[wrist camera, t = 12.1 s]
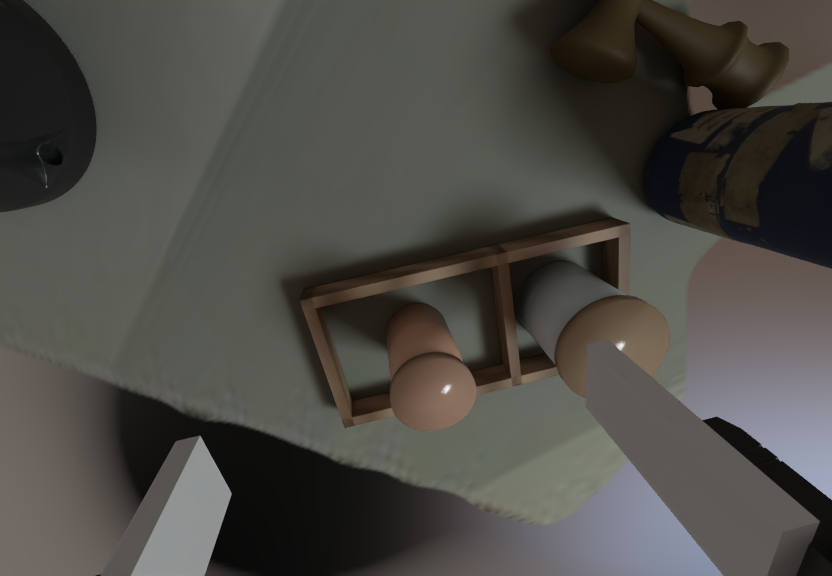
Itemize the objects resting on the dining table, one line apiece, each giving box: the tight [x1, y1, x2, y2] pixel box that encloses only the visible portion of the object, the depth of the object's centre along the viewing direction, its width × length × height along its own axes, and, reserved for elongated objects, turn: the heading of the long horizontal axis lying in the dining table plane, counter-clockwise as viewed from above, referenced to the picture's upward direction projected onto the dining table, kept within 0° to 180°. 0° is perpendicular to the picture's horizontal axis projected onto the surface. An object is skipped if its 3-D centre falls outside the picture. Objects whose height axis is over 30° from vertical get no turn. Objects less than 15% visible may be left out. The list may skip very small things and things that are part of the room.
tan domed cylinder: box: [386, 304, 476, 431], centre depth 33 cm, size 6×6×10 cm
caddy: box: [300, 218, 630, 428], centre depth 37 cm, size 29×14×2 cm, turn 101°
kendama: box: [551, 0, 789, 110], centre depth 28 cm, size 6×10×20 cm
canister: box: [646, 102, 832, 269], centre depth 26 cm, size 10×10×18 cm
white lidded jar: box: [516, 261, 670, 398], centre depth 33 cm, size 9×9×10 cm
